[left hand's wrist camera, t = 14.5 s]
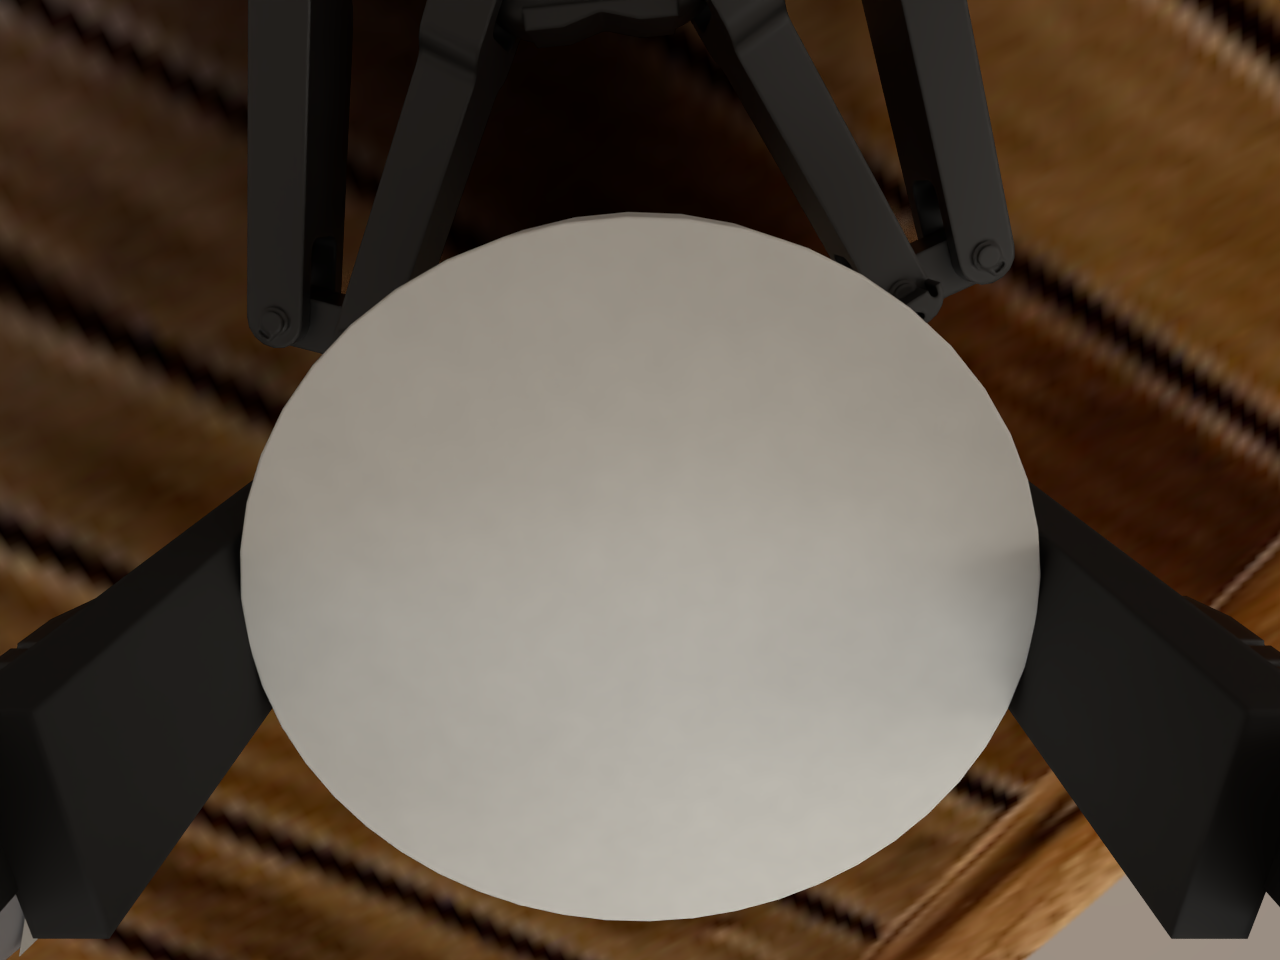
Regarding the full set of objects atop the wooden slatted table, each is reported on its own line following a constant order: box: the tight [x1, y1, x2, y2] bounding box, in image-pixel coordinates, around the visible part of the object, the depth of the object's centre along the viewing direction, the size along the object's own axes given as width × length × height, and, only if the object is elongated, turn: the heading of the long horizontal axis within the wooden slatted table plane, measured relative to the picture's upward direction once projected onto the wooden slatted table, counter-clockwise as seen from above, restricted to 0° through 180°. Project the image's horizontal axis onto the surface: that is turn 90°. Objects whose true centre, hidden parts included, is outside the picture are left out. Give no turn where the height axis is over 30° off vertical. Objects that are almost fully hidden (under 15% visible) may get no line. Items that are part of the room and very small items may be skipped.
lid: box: [240, 212, 1040, 921], centre depth 11 cm, size 10×10×2 cm
